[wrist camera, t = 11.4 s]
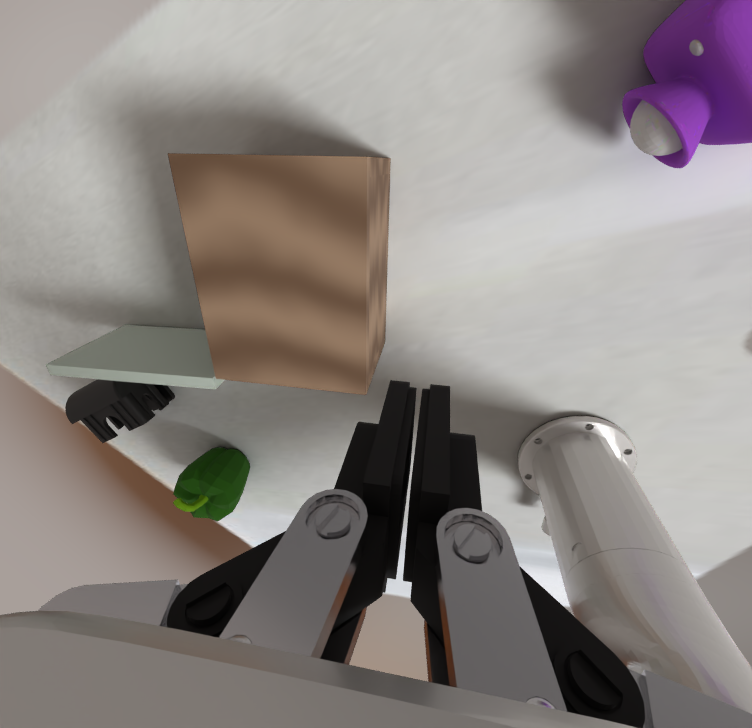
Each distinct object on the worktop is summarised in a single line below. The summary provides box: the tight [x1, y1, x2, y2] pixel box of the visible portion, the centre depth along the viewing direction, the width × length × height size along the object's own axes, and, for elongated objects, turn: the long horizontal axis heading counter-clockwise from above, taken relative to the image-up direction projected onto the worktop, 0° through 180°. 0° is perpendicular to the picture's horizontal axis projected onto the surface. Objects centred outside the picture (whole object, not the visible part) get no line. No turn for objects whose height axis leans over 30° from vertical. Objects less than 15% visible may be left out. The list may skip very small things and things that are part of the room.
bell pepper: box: [173, 447, 250, 521], centre depth 51 cm, size 8×8×10 cm
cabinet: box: [168, 153, 391, 395], centre depth 34 cm, size 18×14×11 cm
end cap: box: [66, 379, 175, 443], centre depth 49 cm, size 10×7×7 cm
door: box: [46, 325, 225, 389], centre depth 41 cm, size 18×2×11 cm, turn 91°
